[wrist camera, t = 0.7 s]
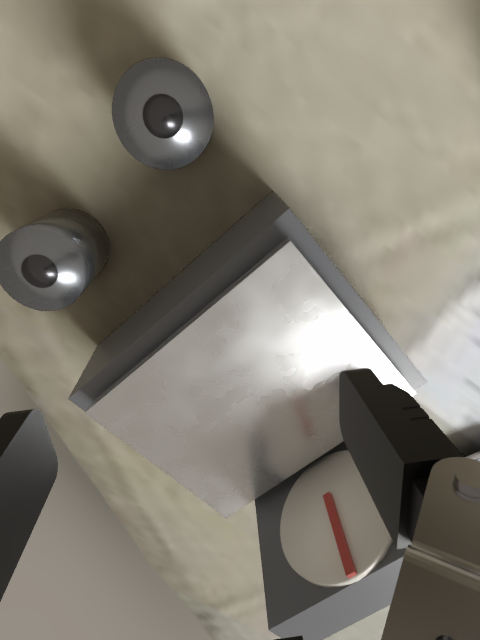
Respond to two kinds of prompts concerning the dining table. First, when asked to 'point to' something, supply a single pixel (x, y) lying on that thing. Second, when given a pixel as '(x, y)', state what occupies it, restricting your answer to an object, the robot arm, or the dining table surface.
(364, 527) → the scale
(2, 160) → the dining table surface
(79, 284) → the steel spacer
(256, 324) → the scale pan
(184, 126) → the cylinder
